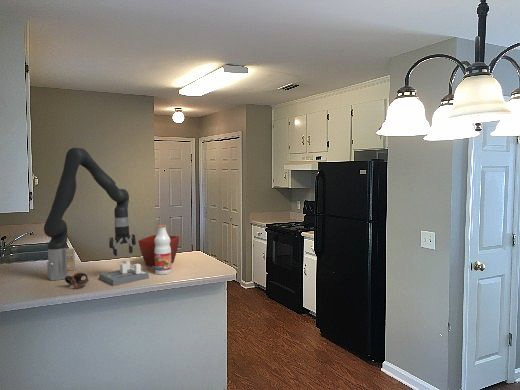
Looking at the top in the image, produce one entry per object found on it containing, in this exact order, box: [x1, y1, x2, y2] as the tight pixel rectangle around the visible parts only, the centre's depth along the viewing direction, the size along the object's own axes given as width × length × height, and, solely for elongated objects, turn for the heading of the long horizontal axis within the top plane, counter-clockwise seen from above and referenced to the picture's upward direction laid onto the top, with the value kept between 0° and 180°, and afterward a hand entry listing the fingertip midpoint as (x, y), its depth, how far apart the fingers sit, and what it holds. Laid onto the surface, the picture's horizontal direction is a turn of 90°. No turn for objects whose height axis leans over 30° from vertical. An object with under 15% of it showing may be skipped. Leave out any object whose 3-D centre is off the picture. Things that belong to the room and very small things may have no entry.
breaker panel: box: [98, 266, 150, 287], centre depth 234 cm, size 20×19×3 cm
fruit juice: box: [154, 224, 173, 276], centre depth 245 cm, size 9×9×28 cm
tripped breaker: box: [119, 262, 127, 274], centre depth 234 cm, size 2×3×5 cm
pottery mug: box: [64, 272, 90, 290], centre depth 220 cm, size 12×10×8 cm
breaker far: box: [123, 259, 131, 270], centre depth 242 cm, size 2×3×5 cm
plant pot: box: [138, 234, 180, 268], centre depth 266 cm, size 19×19×17 cm
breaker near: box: [133, 263, 142, 274], centre depth 232 cm, size 2×3×5 cm
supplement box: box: [66, 247, 76, 272], centre depth 255 cm, size 8×5×13 cm, turn 105°
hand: (123, 254), depth 233 cm, fingers open, 8 cm apart
